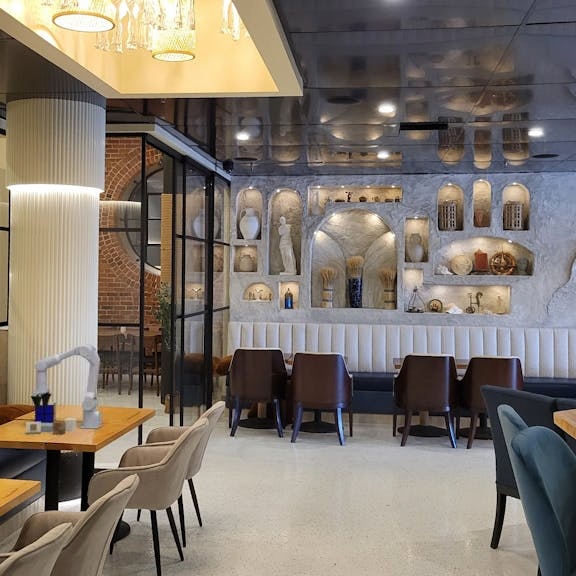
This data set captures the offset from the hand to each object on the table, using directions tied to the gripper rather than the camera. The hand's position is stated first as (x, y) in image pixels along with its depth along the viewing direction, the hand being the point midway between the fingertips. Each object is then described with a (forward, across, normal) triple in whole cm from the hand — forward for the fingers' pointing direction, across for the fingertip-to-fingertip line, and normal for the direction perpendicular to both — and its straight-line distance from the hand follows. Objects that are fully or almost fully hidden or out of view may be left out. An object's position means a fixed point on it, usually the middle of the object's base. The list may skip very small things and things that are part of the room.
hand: (41, 408), depth 396 cm
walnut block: (+10, +15, +19) cm, 27 cm away
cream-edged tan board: (+10, +18, +6) cm, 22 cm away
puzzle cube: (+10, -15, -6) cm, 20 cm away
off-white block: (+10, +5, +20) cm, 23 cm away
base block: (+10, +9, +8) cm, 16 cm away
